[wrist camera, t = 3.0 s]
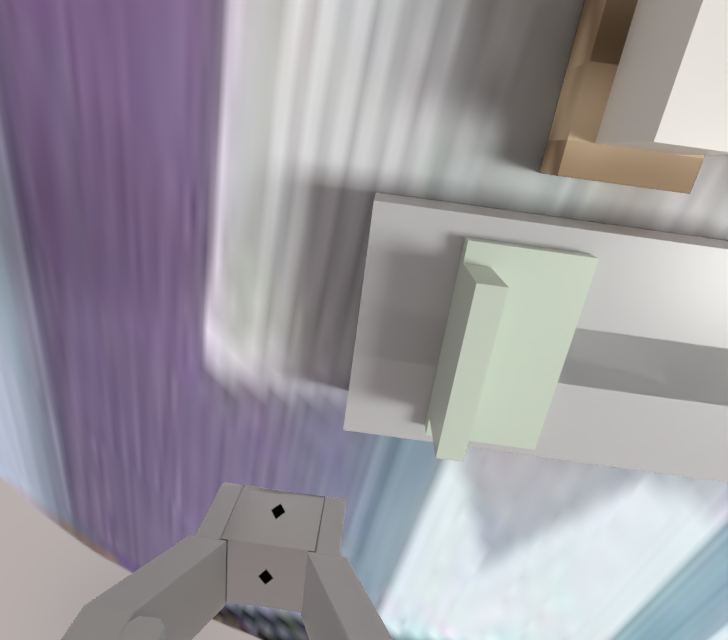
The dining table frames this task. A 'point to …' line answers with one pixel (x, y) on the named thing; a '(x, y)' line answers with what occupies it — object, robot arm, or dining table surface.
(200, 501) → the dining table surface
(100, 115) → the dining table surface
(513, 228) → the socket
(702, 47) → the plug
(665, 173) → the holder
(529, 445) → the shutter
